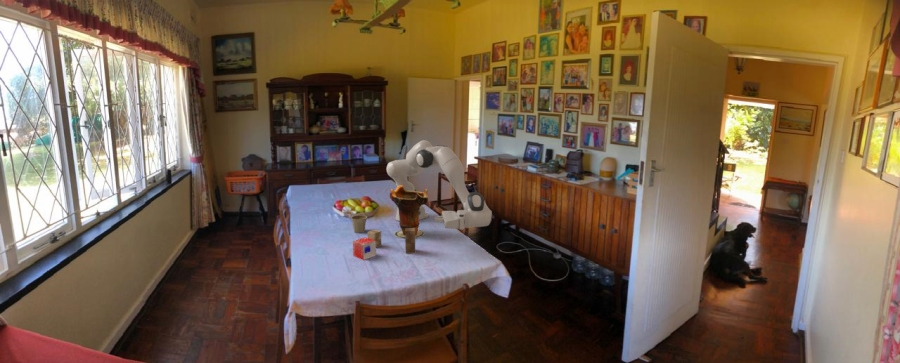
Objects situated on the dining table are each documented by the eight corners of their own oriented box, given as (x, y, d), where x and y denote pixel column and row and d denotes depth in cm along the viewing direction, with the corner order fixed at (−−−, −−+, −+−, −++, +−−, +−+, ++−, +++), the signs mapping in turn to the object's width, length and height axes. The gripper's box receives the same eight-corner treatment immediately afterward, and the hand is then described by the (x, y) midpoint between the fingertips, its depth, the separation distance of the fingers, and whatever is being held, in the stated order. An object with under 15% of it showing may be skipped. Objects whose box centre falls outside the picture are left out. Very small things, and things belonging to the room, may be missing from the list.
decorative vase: (425, 240, 238) (423, 191, 232) (386, 239, 243) (382, 191, 237) (434, 229, 258) (432, 183, 252) (398, 228, 263) (394, 183, 257)
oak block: (374, 243, 234) (374, 229, 233) (381, 245, 232) (381, 231, 230) (368, 246, 230) (367, 231, 229) (374, 248, 227) (374, 233, 226)
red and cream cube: (365, 251, 222) (365, 237, 221) (375, 255, 218) (375, 240, 216) (353, 256, 216) (352, 241, 215) (363, 260, 212) (362, 244, 210)
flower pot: (369, 229, 258) (369, 215, 257) (365, 234, 249) (364, 219, 247) (354, 228, 259) (353, 214, 257) (349, 233, 250) (348, 219, 248)
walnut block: (415, 249, 225) (414, 227, 223) (415, 253, 221) (415, 230, 218) (405, 250, 225) (405, 228, 223) (405, 253, 220) (405, 231, 218)
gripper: (458, 207, 231) (432, 208, 230) (463, 218, 211) (435, 219, 210) (458, 219, 232) (432, 219, 231) (463, 230, 212) (435, 231, 211)
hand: (434, 219), depth 220 cm, fingers closed
